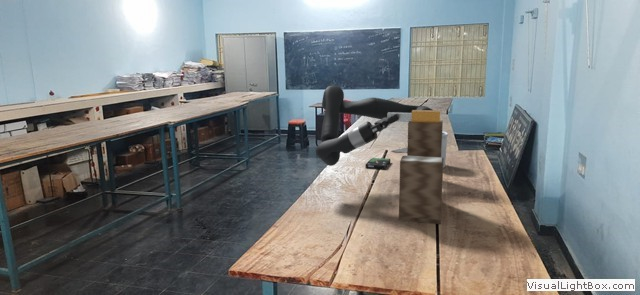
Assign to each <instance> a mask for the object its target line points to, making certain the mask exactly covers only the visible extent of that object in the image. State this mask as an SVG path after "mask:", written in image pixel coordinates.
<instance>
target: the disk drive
mask: <svg viewBox="0 0 640 295" xmlns="http://www.w3.org/2000/svg"><path fill="white" fill-rule="evenodd" d="M390 164H391V158H386V157H385V158H383V157H380V158H379V157H372V158H370V159H369V160H368V161H367V162H366V163H365V169H368V170H370V169H371V170H387V168H388V167H389V165H390Z"/></svg>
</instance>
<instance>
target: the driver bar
mask: <svg viewBox="0 0 640 295" xmlns="http://www.w3.org/2000/svg"><path fill="white" fill-rule="evenodd" d="M394 115H397V116H398V118H399V120H397V121H396V122H398V123H400V122H403V123H404V122H406V123H408V122H424V123H440V120H441V110H434V109H432V110H412V113H396V112H388V113H387V120H388V118H390V117H392V116H394Z"/></svg>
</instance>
